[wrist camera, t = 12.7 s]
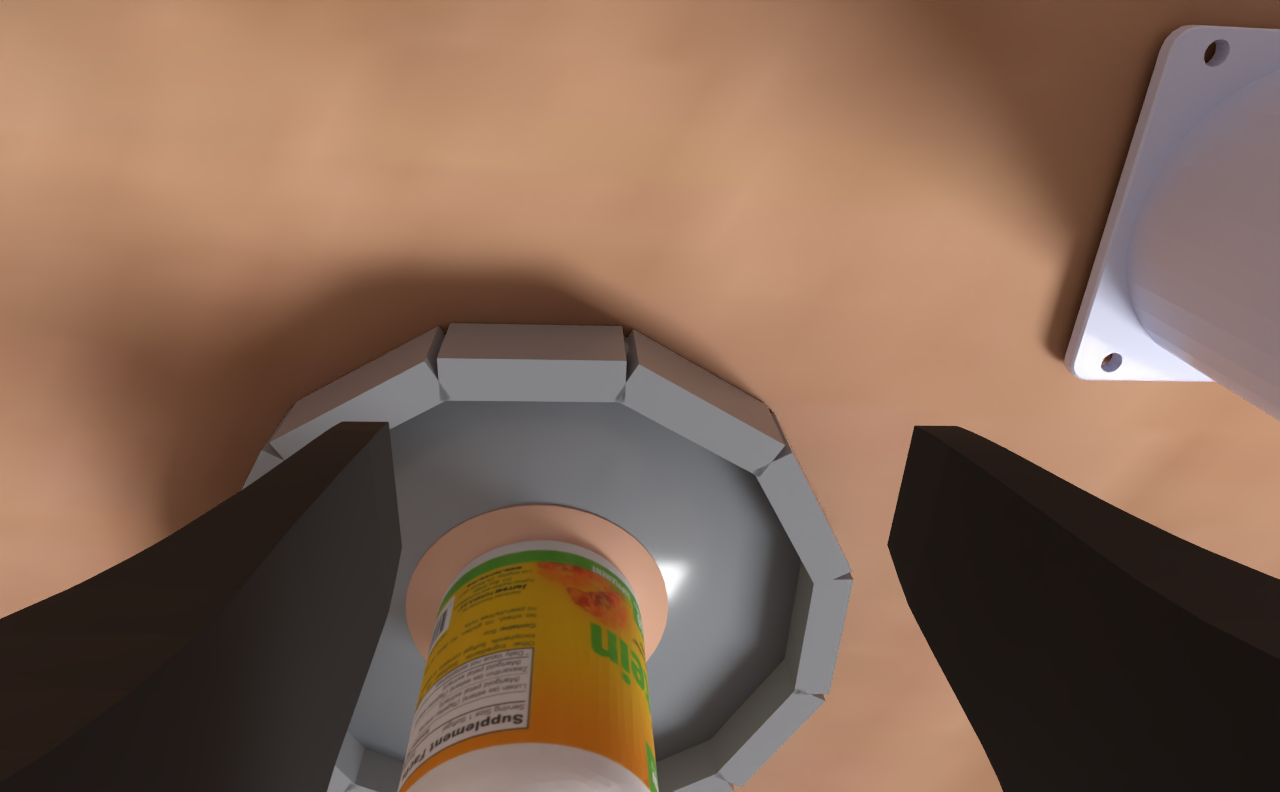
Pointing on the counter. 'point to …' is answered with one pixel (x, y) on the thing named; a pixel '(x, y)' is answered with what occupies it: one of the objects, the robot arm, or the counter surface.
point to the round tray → (598, 528)
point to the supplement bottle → (534, 679)
